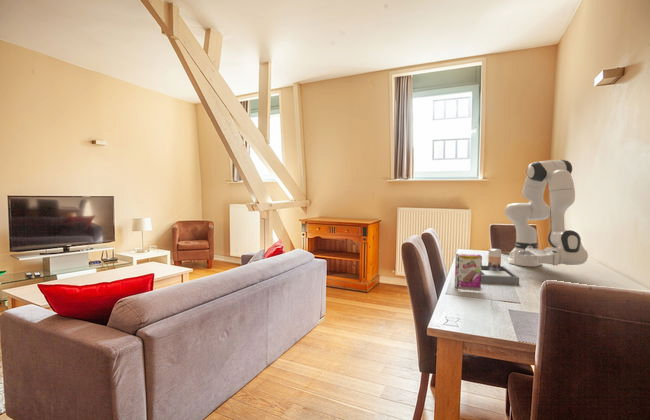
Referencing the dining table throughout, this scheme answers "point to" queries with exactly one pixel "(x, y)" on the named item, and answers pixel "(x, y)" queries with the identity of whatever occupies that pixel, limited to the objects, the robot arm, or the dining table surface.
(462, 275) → the candy bar box
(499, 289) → the dining table surface
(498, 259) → the steel tin
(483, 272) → the white rectangular block
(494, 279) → the tray
